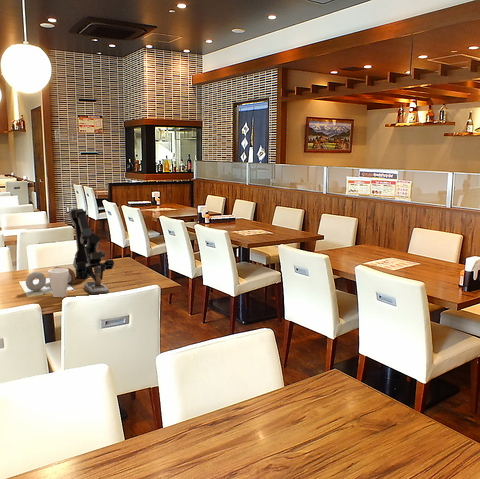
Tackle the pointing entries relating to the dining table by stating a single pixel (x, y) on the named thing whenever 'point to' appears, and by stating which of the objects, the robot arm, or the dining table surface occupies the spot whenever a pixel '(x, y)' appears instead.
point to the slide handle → (97, 277)
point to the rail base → (96, 290)
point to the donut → (31, 277)
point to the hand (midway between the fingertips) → (98, 279)
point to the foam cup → (58, 281)
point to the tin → (71, 275)
